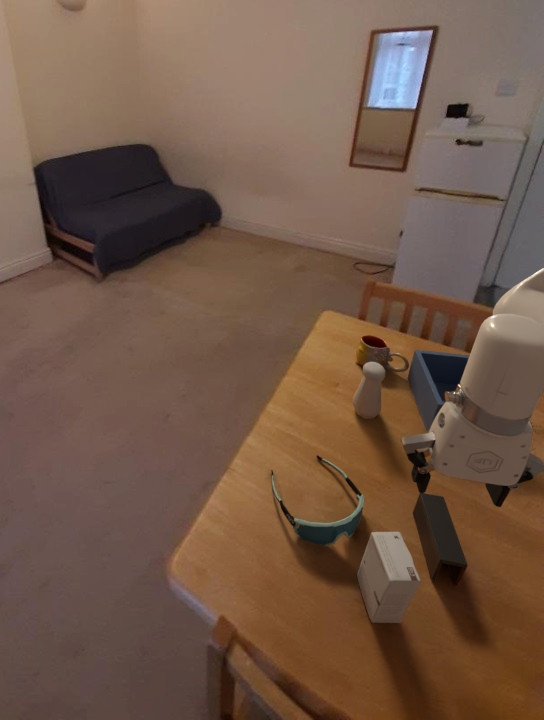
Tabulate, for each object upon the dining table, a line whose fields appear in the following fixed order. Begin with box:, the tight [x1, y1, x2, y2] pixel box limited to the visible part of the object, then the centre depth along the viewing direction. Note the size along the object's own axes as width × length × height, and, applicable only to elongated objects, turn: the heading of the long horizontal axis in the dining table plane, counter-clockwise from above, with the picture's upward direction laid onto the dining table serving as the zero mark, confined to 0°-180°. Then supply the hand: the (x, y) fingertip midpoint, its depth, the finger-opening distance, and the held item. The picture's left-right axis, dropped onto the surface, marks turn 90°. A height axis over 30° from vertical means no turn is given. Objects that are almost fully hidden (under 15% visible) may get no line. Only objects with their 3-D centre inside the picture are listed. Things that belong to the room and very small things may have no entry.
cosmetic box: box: [356, 531, 422, 624], centre depth 57 cm, size 6×4×12 cm
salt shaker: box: [352, 362, 386, 420], centre depth 86 cm, size 6×6×13 cm
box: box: [406, 349, 470, 433], centre depth 87 cm, size 13×16×9 cm
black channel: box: [412, 492, 468, 587], centre depth 64 cm, size 4×10×6 cm, turn 168°
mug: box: [355, 334, 410, 373], centre depth 100 cm, size 12×7×7 cm, turn 45°
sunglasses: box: [270, 454, 365, 546], centre depth 72 cm, size 14×15×5 cm
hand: (454, 489), depth 59 cm, fingers open, 9 cm apart
